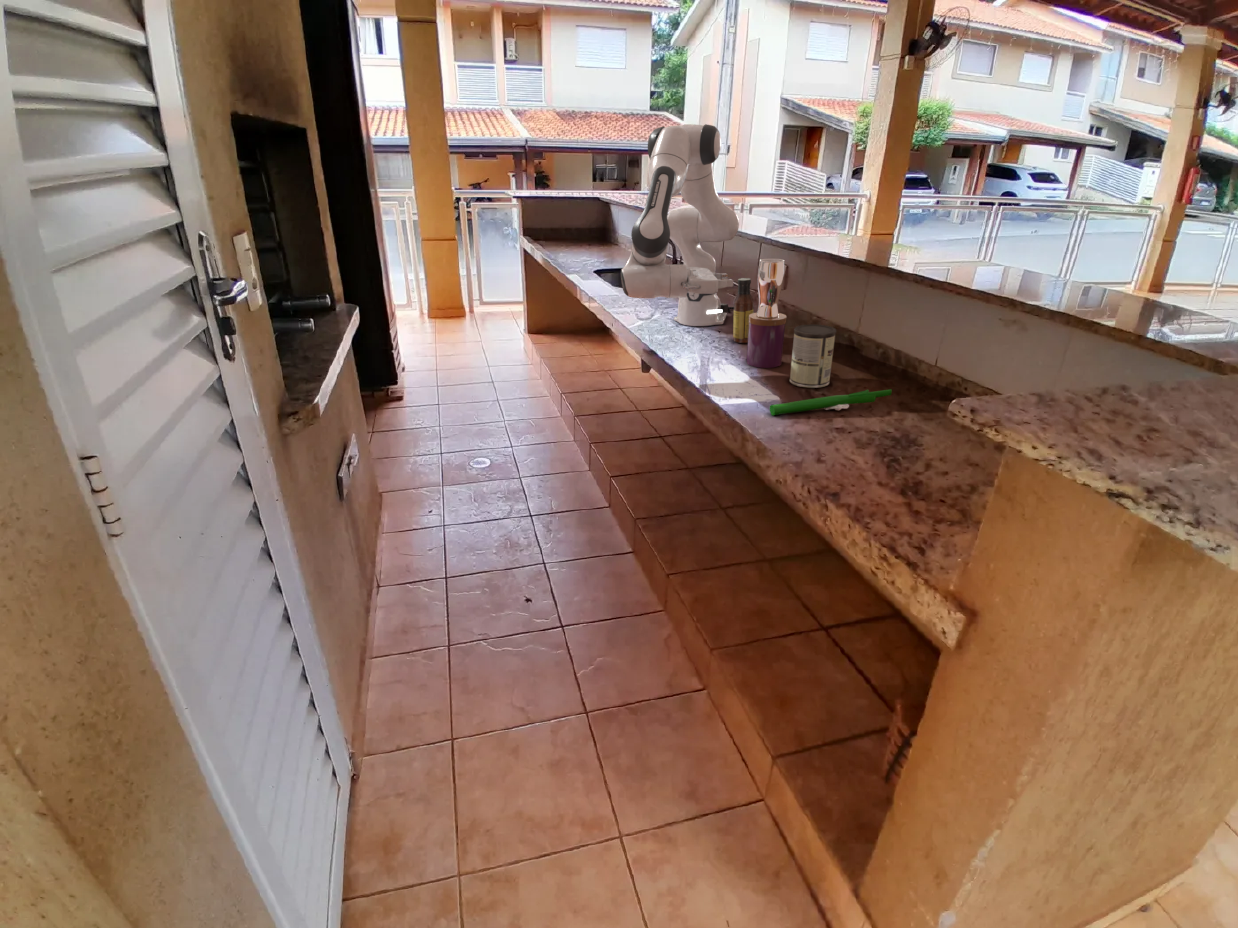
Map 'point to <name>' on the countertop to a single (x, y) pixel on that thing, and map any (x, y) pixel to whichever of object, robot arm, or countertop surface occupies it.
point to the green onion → (828, 402)
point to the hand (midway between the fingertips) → (730, 280)
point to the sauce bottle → (742, 311)
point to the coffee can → (812, 355)
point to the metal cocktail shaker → (769, 287)
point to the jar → (765, 341)
